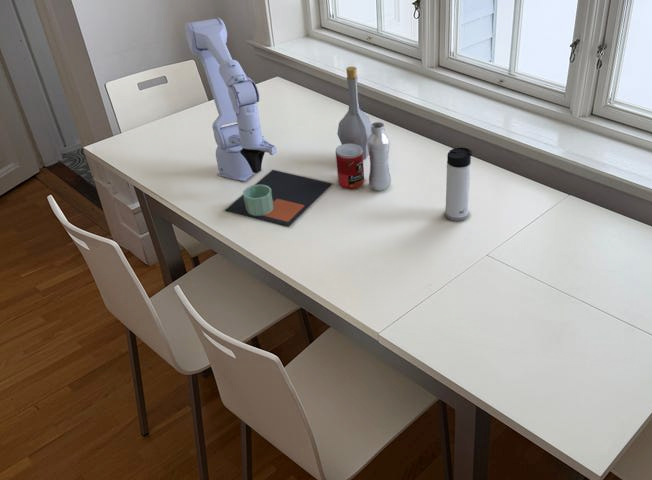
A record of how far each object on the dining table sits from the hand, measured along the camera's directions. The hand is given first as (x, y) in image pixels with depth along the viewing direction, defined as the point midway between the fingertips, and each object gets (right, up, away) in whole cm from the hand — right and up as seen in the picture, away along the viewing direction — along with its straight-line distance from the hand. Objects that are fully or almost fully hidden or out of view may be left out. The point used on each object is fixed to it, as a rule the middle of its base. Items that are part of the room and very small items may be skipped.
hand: (256, 171), depth 184 cm
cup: (+1, -10, 0) cm, 10 cm away
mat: (+5, -7, +5) cm, 10 cm away
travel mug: (+56, -12, +1) cm, 57 cm away
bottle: (+25, +6, +23) cm, 34 cm away
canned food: (+24, -2, +13) cm, 28 cm away
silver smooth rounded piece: (+33, -3, +11) cm, 35 cm away
